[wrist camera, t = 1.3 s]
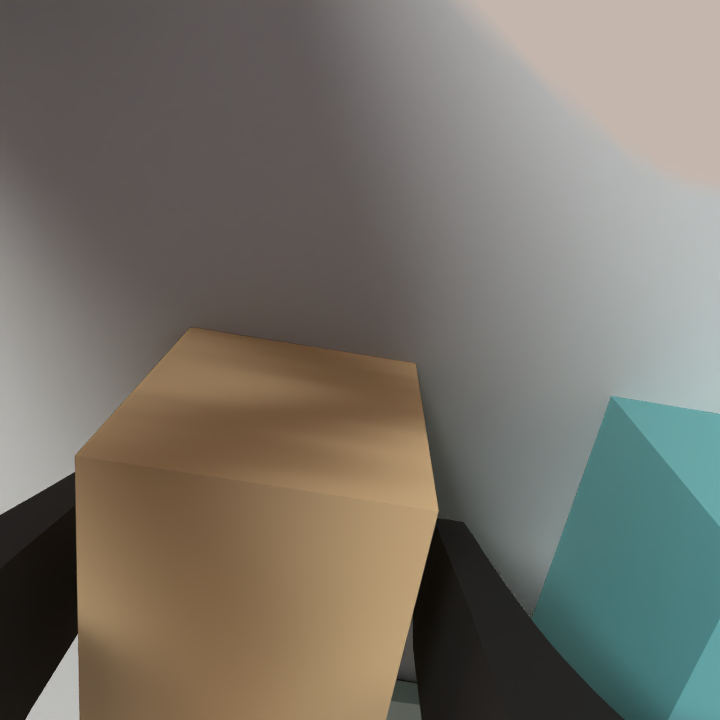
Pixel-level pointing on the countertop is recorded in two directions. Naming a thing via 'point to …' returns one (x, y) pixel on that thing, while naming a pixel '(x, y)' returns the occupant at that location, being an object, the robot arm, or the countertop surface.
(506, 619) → the robot arm
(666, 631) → the teal brick
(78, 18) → the countertop surface
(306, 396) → the honey-wood brick
